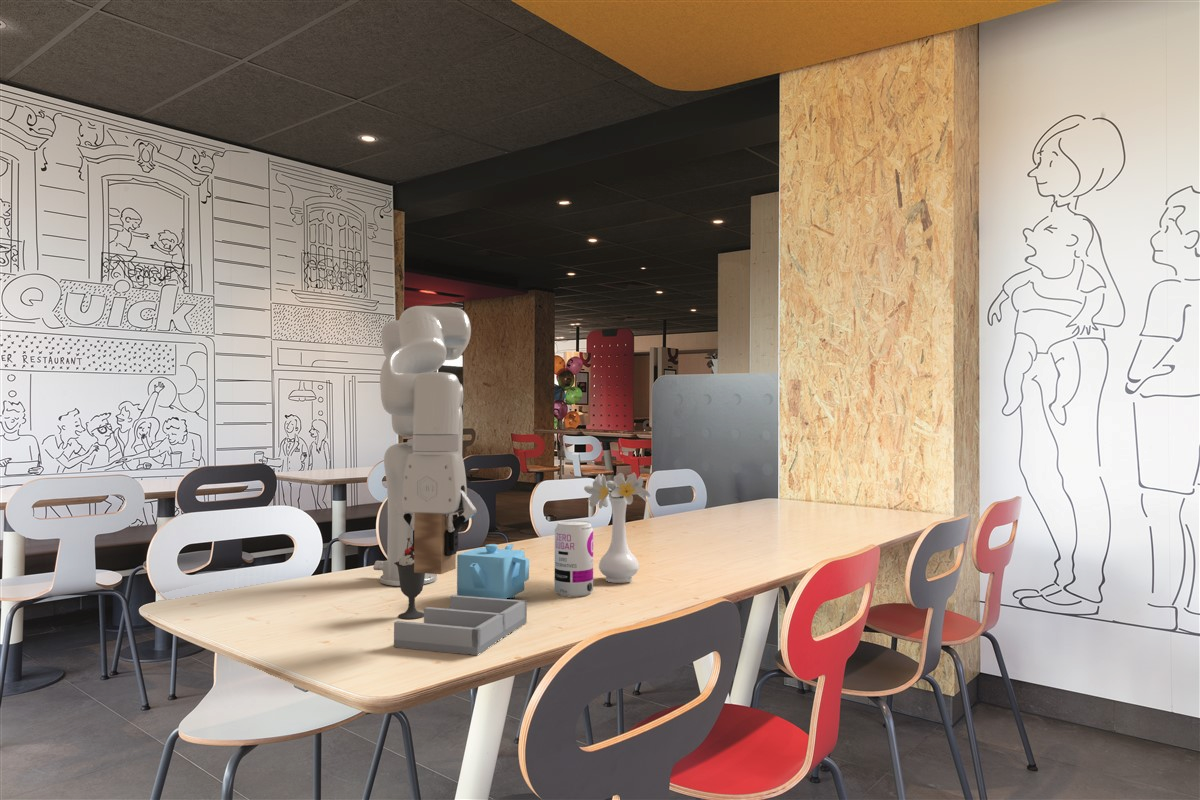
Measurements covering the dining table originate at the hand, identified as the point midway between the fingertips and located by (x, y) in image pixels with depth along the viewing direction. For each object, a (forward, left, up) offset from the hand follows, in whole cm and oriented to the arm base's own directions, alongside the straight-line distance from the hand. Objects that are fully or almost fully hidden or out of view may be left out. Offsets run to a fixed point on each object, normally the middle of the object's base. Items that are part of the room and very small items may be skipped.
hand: (435, 552), depth 128 cm
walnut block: (0, 0, -3) cm, 3 cm away
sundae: (-12, +13, -15) cm, 23 cm away
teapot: (-3, +30, -15) cm, 33 cm away
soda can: (+11, +40, -15) cm, 44 cm away
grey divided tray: (+3, +5, -15) cm, 16 cm away
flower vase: (+16, +55, -15) cm, 59 cm away
